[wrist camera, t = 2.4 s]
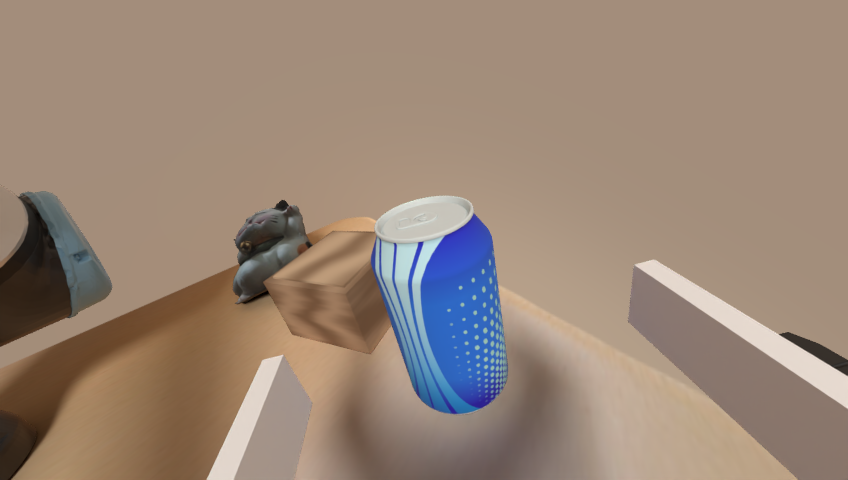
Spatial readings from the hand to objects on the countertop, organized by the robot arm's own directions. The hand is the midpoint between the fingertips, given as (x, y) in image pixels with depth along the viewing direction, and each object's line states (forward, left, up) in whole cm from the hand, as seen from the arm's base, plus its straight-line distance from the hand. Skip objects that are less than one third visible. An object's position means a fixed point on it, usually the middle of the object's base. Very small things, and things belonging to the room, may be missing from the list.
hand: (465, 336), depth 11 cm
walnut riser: (-21, +14, -15) cm, 30 cm away
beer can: (-5, +8, -15) cm, 18 cm away
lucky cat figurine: (-40, +18, -15) cm, 46 cm away
